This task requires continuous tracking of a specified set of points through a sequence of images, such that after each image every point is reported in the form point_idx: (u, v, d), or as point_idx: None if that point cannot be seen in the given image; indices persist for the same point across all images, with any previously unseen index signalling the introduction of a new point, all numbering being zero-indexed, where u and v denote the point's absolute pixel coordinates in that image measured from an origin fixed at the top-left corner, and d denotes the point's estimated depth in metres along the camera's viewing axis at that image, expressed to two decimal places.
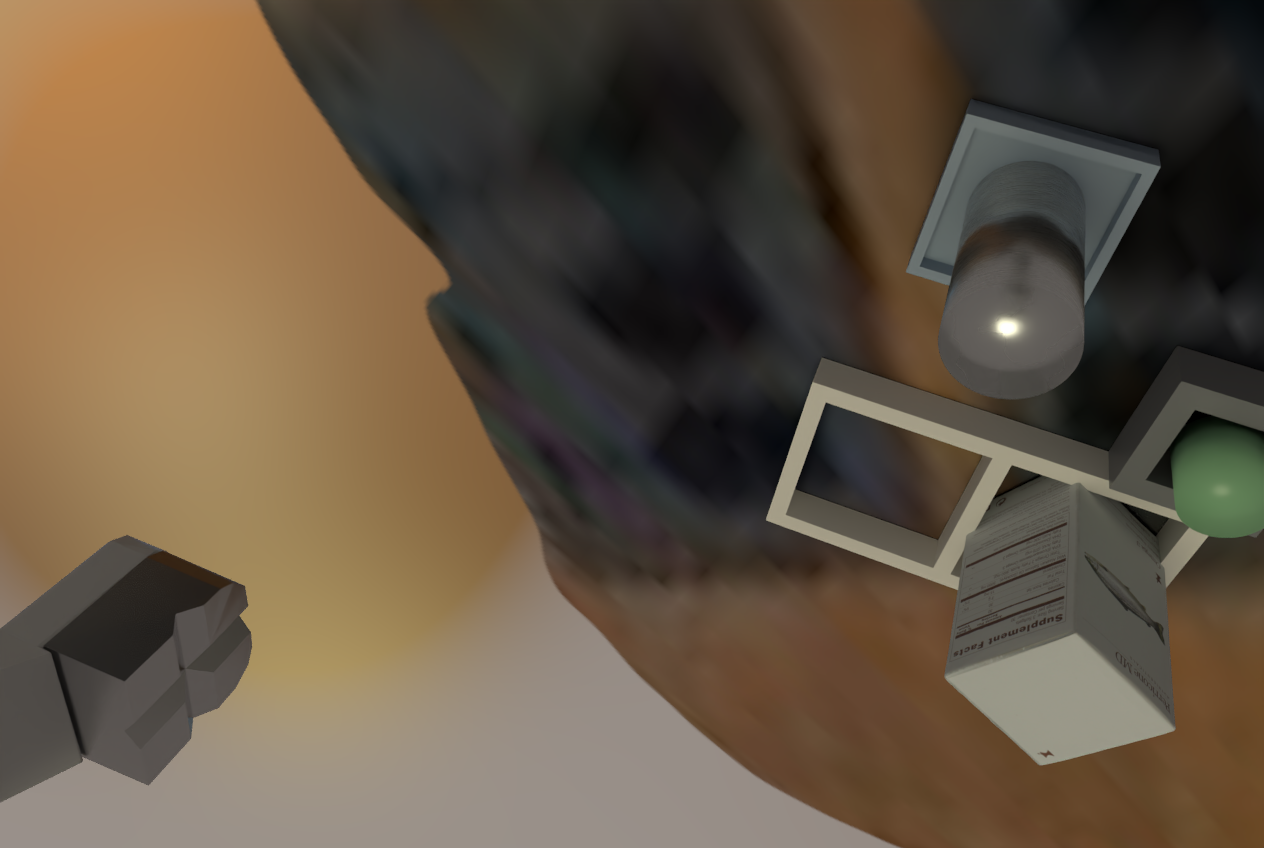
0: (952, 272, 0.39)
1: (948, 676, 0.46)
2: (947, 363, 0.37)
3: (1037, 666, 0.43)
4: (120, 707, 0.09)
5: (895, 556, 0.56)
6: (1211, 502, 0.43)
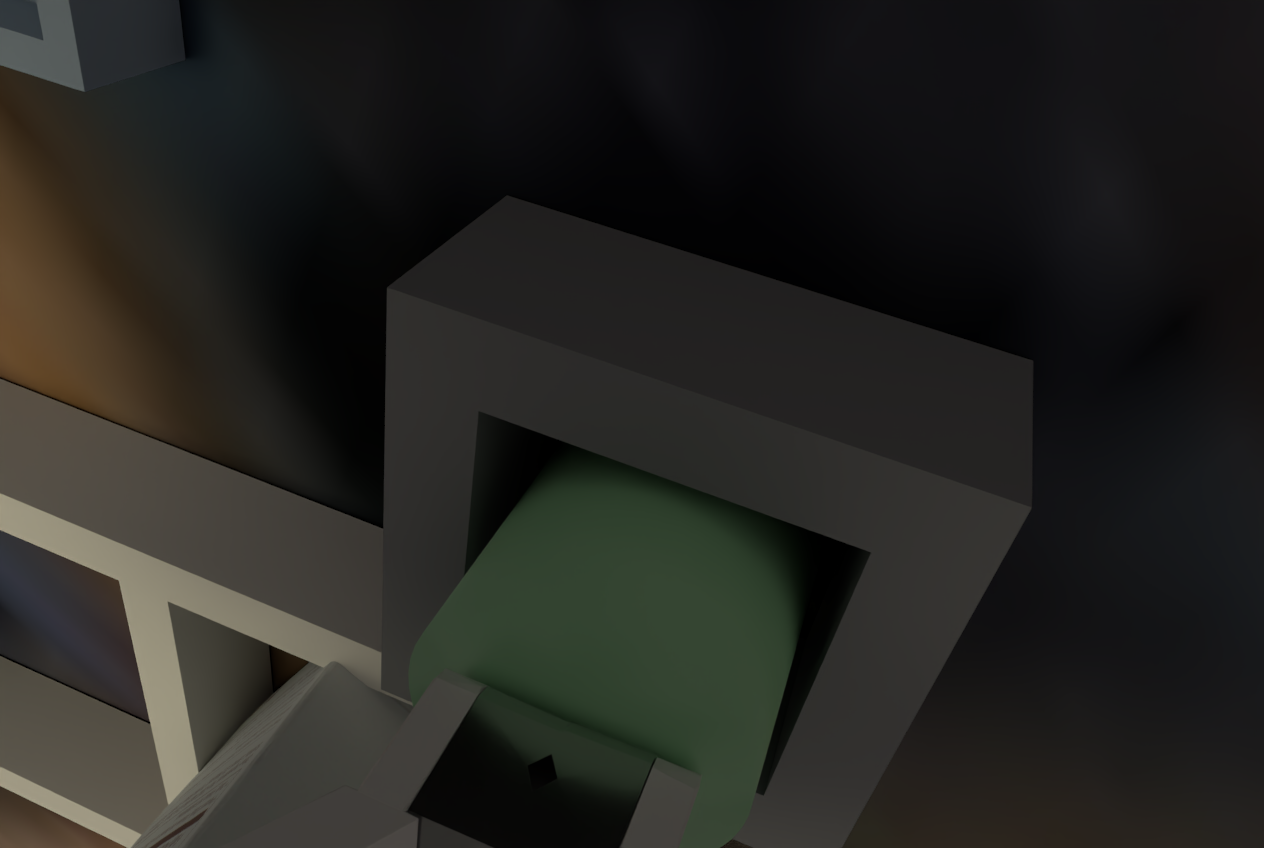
0: None
1: None
2: None
3: None
4: None
5: (99, 816, 0.22)
6: None
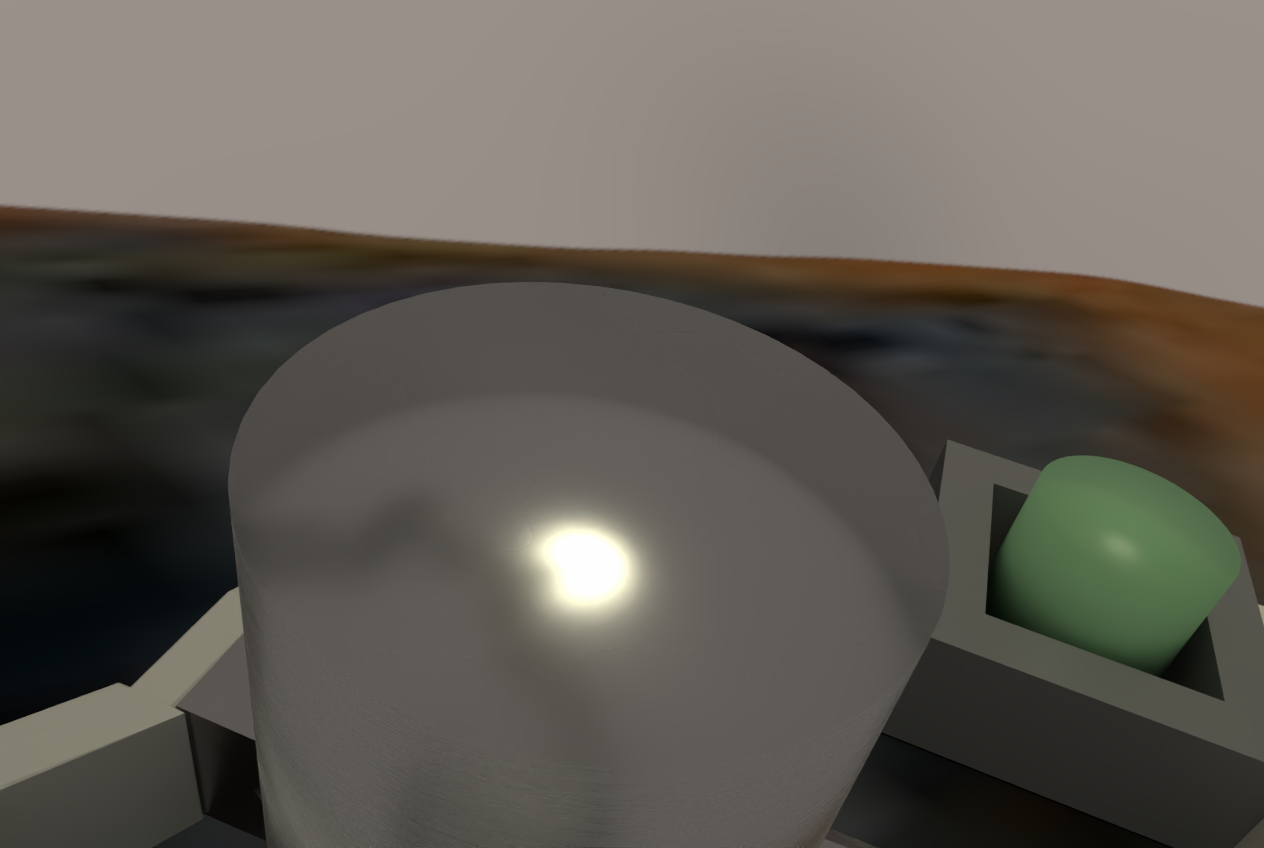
0: None
1: None
2: (768, 726, 0.05)
3: None
4: (253, 768, 0.09)
5: None
6: (1148, 538, 0.19)
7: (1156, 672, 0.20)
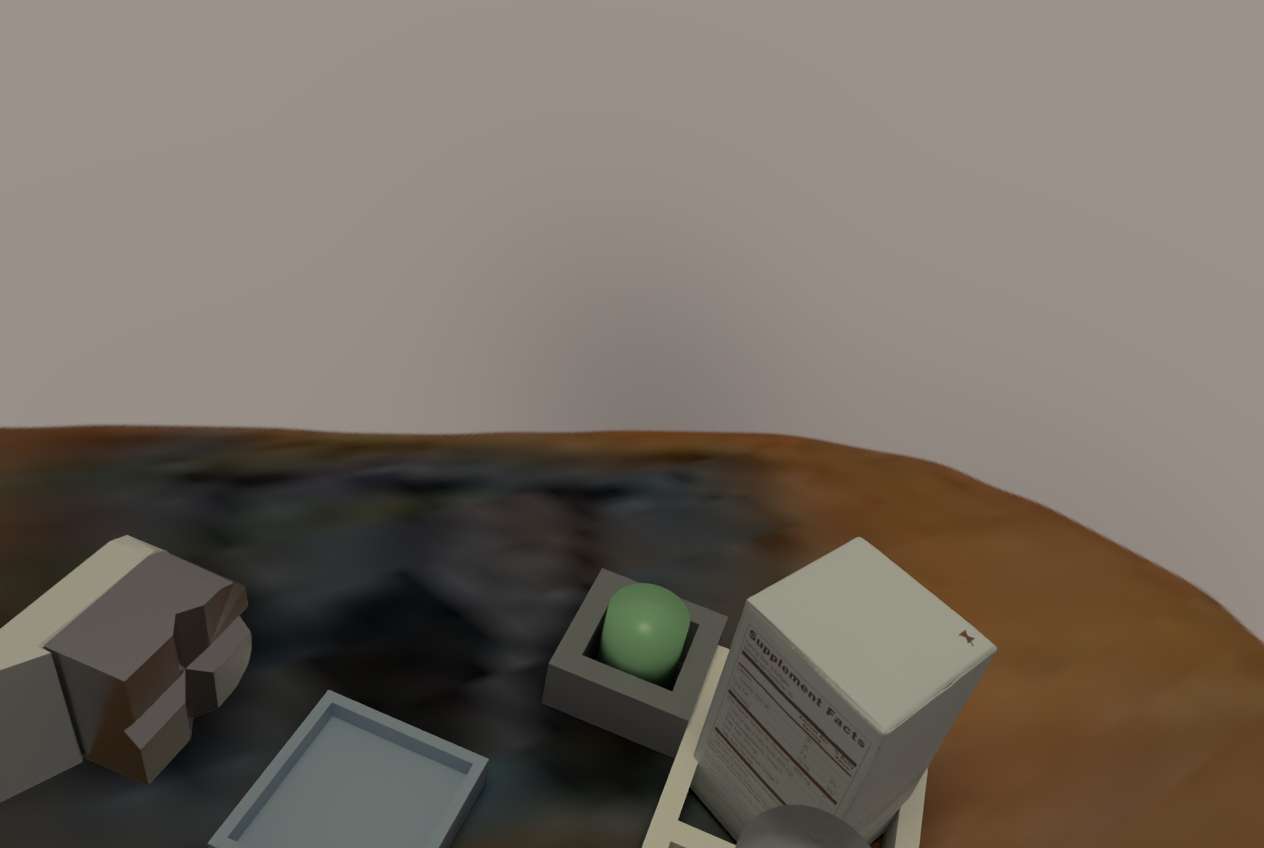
0: None
1: (880, 728, 0.33)
2: None
3: (813, 633, 0.36)
4: (120, 707, 0.09)
5: None
6: (648, 623, 0.45)
7: (658, 679, 0.46)
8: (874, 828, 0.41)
